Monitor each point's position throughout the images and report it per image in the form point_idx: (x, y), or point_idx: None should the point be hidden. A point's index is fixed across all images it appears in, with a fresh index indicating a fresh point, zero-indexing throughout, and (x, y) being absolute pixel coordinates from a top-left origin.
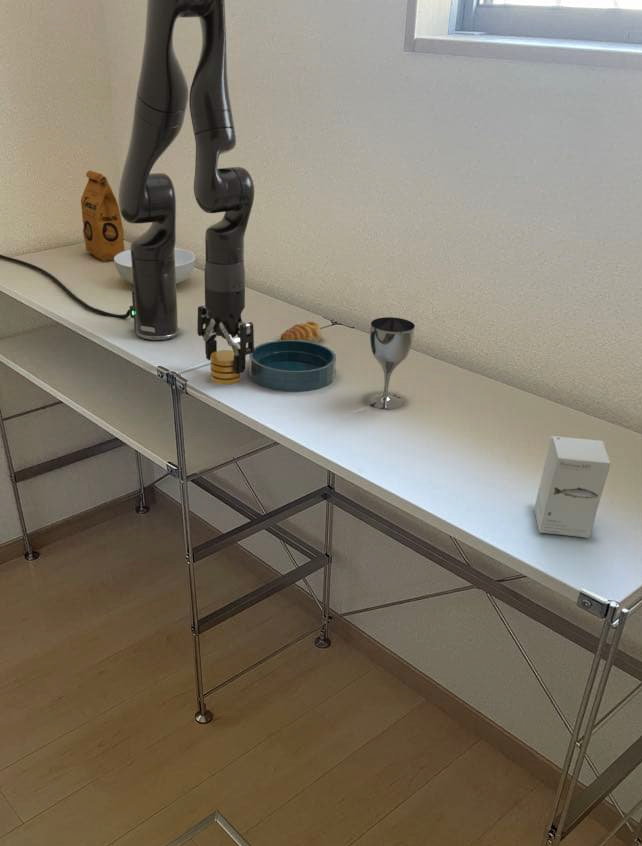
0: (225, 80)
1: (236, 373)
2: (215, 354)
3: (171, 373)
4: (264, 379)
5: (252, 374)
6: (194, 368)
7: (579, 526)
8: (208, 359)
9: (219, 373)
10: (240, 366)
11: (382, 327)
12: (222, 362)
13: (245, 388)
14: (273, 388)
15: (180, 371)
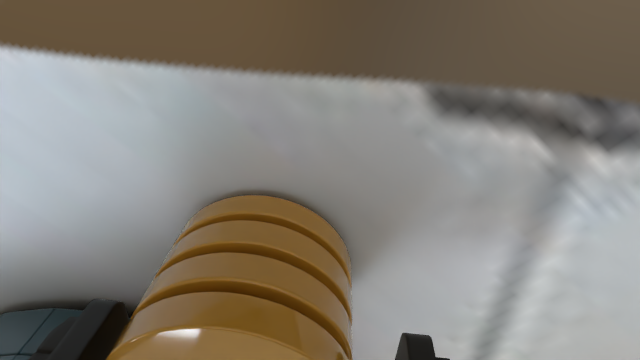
0: None
1: (94, 299)
2: None
3: (629, 120)
4: (23, 342)
5: None
6: (529, 262)
7: None
8: (406, 335)
9: (196, 246)
10: (32, 356)
11: None
12: (137, 329)
13: (119, 255)
14: (4, 316)
15: (585, 183)
